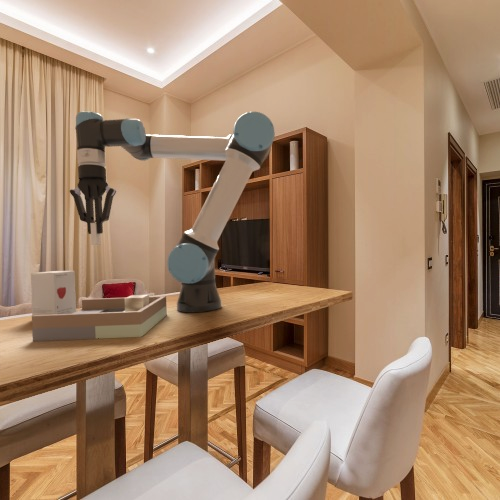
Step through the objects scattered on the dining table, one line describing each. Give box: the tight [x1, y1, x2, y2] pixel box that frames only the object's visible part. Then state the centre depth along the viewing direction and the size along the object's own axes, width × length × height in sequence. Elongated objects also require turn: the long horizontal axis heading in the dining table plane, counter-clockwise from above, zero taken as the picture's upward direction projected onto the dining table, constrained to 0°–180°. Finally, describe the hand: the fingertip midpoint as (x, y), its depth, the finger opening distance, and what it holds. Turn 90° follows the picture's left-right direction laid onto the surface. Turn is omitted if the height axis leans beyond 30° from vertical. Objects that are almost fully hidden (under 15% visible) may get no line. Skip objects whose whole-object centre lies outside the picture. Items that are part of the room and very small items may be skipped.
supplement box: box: [30, 270, 77, 317], centre depth 102 cm, size 9×9×15 cm
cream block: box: [123, 294, 150, 312], centre depth 87 cm, size 5×5×5 cm
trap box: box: [31, 295, 168, 342], centre depth 87 cm, size 26×24×6 cm
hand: (96, 244), depth 95 cm, fingers closed
